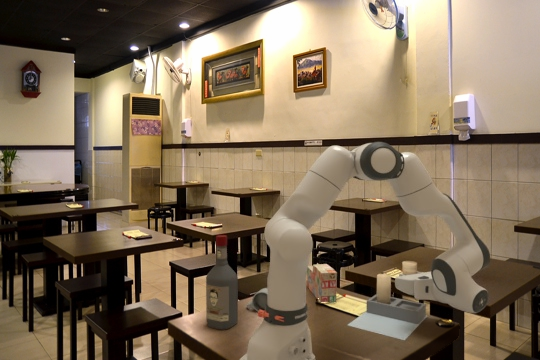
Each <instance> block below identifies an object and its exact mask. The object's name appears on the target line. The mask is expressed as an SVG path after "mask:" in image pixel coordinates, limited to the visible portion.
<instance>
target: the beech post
mask: <svg viewBox="0 0 540 360" xmlns="http://www.w3.org/2000/svg"><path fill="white" fill-rule="evenodd" d="M401 263H402V264H401V265H402V266H401V267H402V269H401V270H402V271H401V274H402V273H403V274H406V275H411V274H417V271H418V262H417V261H412V260H404V261H402V262H401Z"/></svg>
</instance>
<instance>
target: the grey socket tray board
mask: <svg viewBox="0 0 540 360" xmlns="http://www.w3.org/2000/svg"><path fill="white" fill-rule="evenodd" d="M391 283H392V276H391V274H387V273H378V274H377V275H376V294H374V295H373V296H372V297H370V298H369V299H367V300H366V311H365V312H363V313H362V314H361V315H359V316H358V317H356V318H355V319H354V320H352V321H350V322H349V323H348V324H347V326H348V327H352V328H356V329H360V330H363V331H366V332H367V331H368V332H372V333H376V334H380V335H383V336H386V337H391V338H394V339H398V340H402V341H406V339H408V338H409V336H410V335H411V334H412V333H413V332H414V331H415V330H416V329H417V328H418V327H419V326H420V325H421V324H422V322H424V320H426V318H428V315H427V313H426V312H427V304H426V303H421V302H419V301H417V302H416V301H413V300H407V299H404V298H403V299H402V298H397V297H393V296H392V294H391V291H392V289H391V288H392V284H391Z"/></svg>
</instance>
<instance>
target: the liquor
mask: <svg viewBox="0 0 540 360" xmlns="http://www.w3.org/2000/svg"><path fill="white" fill-rule="evenodd" d="M215 246H216V262H215V264H214V266H213V267H212V268H211V269H210V270H209V272H208V273H207V275H206V276H205V285H206V286H205V288H206V289H205V290H206V292H205V297H206V299H205V301H206V302H205V304H206V306H205V307H206V309H205V310H206V311H205V312H206V321H205V322H206V325H207V326H208V328H212V329H217V330H220V331H222V330H229V329H231V328H232V327H233V326H234V327H235V325H237V324H238V320H239V318H238V317H239V316H238V312H239V309H238V308H239V307H238V306H239V304H238V302H239V299H238V298H239V297H238V296H239V295H238V294H239V293H238V291H239V290H238V289H239V287H238V285H239V284H238V283H239V282H238V281H239V280H238V275H237V273H236V272H235V270H233V268H232V267H231V266H230V264H229V262H228V253H227V252H228V251H227V250H228V249H227V248H228V247H227V246H228V235H226V234H225V235H224V234H219V235H218V234H217V235H215Z"/></svg>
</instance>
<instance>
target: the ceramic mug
mask: <svg viewBox="0 0 540 360" xmlns="http://www.w3.org/2000/svg"><path fill="white" fill-rule="evenodd" d="M266 304H267V287H264V288H261V289H260V290H258V291H257V292H256V293H255V294H254V295H253V296H252V299H251V301H249V302H247V304H246V307H247V309H252V308H253V309H254V310H255V311H257V313H258V312H259V310H260V309H261V310H263V311H265V307H266Z"/></svg>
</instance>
